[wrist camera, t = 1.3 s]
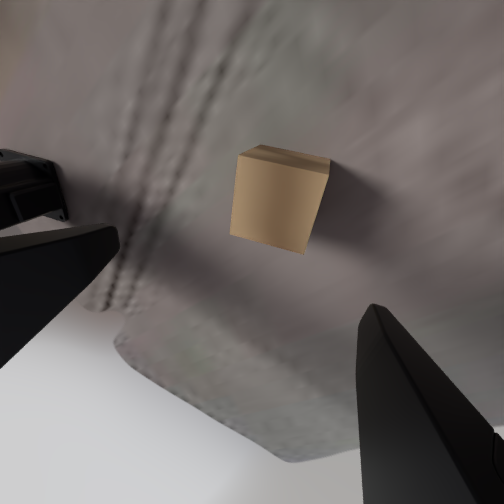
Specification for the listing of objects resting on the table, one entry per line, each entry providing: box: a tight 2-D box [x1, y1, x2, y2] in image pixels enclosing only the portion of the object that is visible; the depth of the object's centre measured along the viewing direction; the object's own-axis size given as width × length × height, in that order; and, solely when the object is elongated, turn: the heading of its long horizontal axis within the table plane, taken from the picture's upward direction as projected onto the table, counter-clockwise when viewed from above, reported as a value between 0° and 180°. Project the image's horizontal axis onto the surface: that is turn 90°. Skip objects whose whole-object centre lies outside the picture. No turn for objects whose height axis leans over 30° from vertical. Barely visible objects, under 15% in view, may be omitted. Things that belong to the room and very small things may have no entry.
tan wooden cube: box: [230, 145, 330, 255], centre depth 16 cm, size 5×5×5 cm
